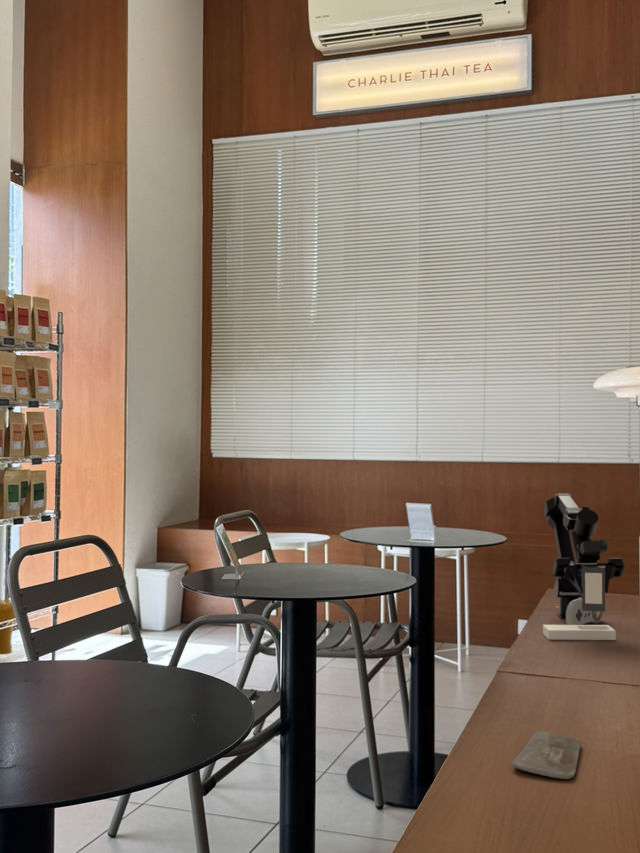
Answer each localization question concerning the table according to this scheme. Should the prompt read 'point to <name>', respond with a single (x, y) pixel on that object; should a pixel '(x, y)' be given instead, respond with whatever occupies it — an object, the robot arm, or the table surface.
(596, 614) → the game controller
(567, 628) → the recessed rectangular block
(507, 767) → the table surface
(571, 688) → the table surface
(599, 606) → the charcoal grey box
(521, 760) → the stone
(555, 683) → the table surface
